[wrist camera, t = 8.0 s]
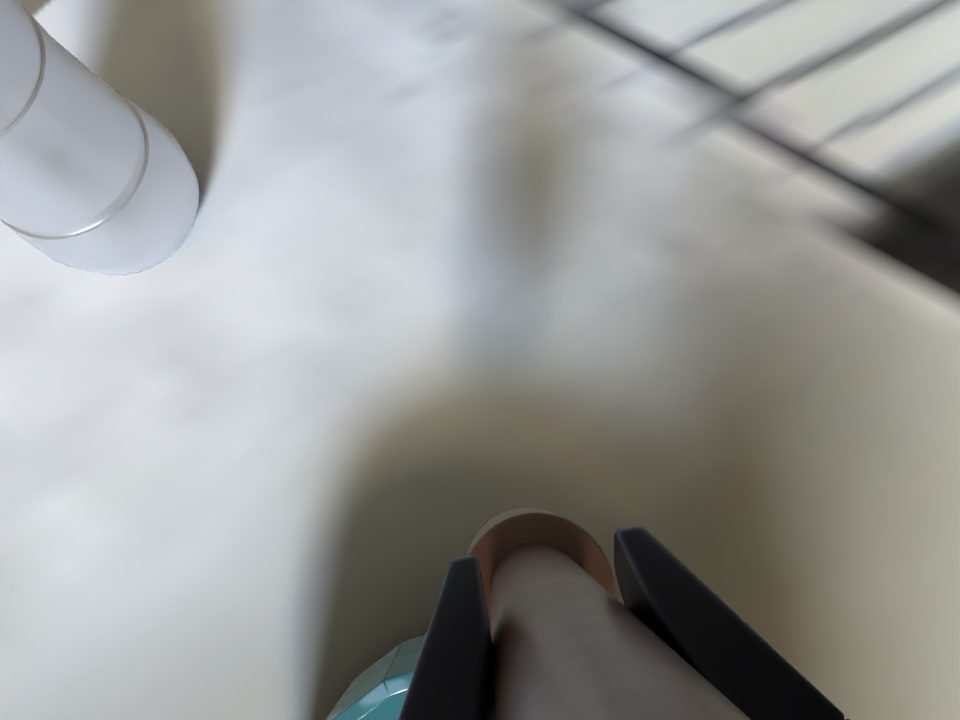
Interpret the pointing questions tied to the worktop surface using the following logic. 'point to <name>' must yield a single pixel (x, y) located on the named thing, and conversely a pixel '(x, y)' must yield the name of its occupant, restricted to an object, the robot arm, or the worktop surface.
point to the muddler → (575, 632)
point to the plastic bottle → (84, 160)
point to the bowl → (380, 686)
